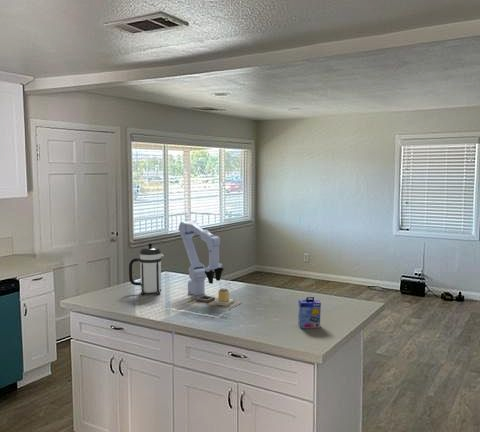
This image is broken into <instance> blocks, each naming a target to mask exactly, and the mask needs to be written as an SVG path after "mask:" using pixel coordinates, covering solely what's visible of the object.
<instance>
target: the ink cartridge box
mask: <svg viewBox="0 0 480 432" xmlns="http://www.w3.org/2000/svg"><path fill="white" fill-rule="evenodd" d="M321 306H322V303H321V301H320V300H319V299H315V296H307V297H306V299H299V300H298V312H297V313H298V316H297V317H298V319H297V321H298V326H299V329H319V328H321V309H322V307H321Z"/></svg>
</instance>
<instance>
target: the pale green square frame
mask: <svg viewBox="0 0 480 432" xmlns="http://www.w3.org/2000/svg"><path fill="white" fill-rule="evenodd" d="M234 301H235V300H234V299H231V298H230V299H229V301H228V302H219V299H218V300H216V301H214V304H217V305H223V306H228V305H230V304H232V303H234Z"/></svg>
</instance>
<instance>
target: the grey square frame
mask: <svg viewBox="0 0 480 432" xmlns="http://www.w3.org/2000/svg"><path fill="white" fill-rule="evenodd" d="M200 296H201V297H200ZM200 296H198V297H196V301H198V302H205V303H209V302H211V301H213V300H215V298H216V297H215V296H211V295H204V294H202V295H200ZM206 299H207V300H206Z"/></svg>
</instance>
